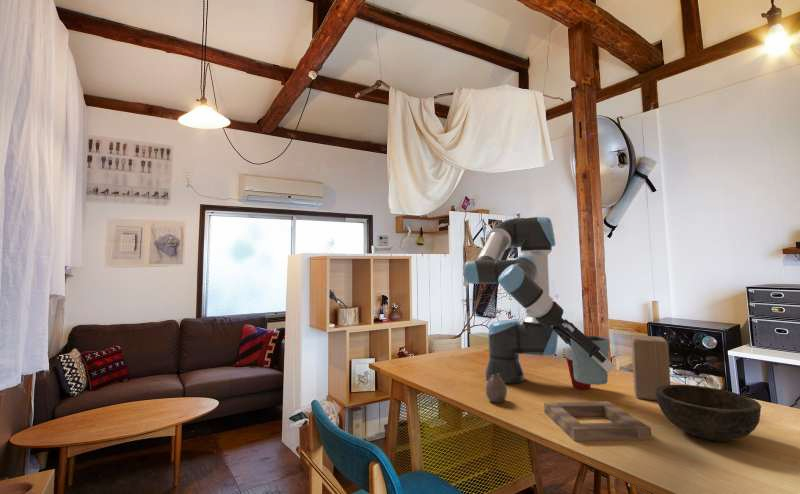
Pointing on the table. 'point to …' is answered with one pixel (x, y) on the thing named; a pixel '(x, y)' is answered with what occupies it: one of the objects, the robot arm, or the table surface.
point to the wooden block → (649, 365)
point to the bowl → (709, 411)
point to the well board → (618, 430)
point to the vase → (496, 389)
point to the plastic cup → (575, 383)
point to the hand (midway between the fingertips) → (600, 364)
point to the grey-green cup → (589, 362)
